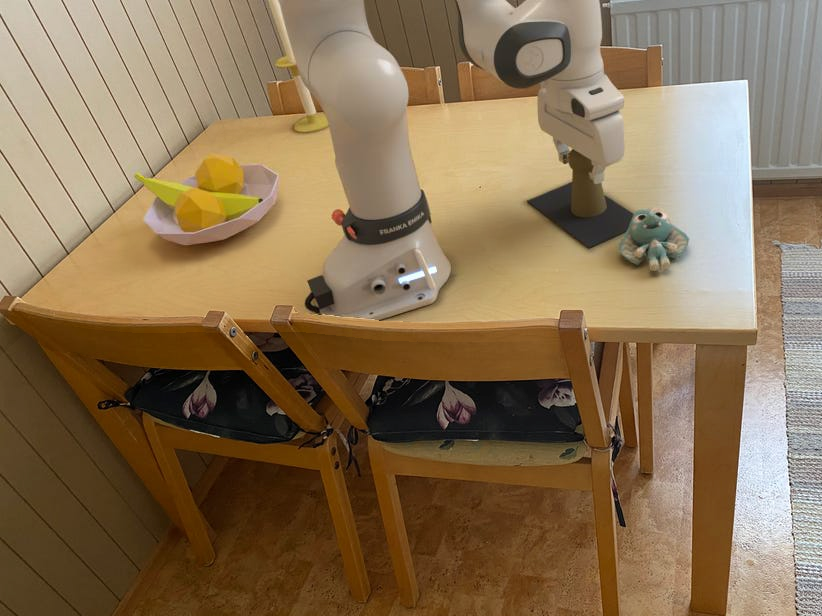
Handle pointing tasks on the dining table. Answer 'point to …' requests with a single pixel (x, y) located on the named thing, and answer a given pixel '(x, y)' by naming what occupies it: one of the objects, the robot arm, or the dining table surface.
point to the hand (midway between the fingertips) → (580, 171)
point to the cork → (585, 188)
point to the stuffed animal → (652, 239)
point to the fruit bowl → (211, 201)
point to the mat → (581, 228)
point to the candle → (297, 78)
